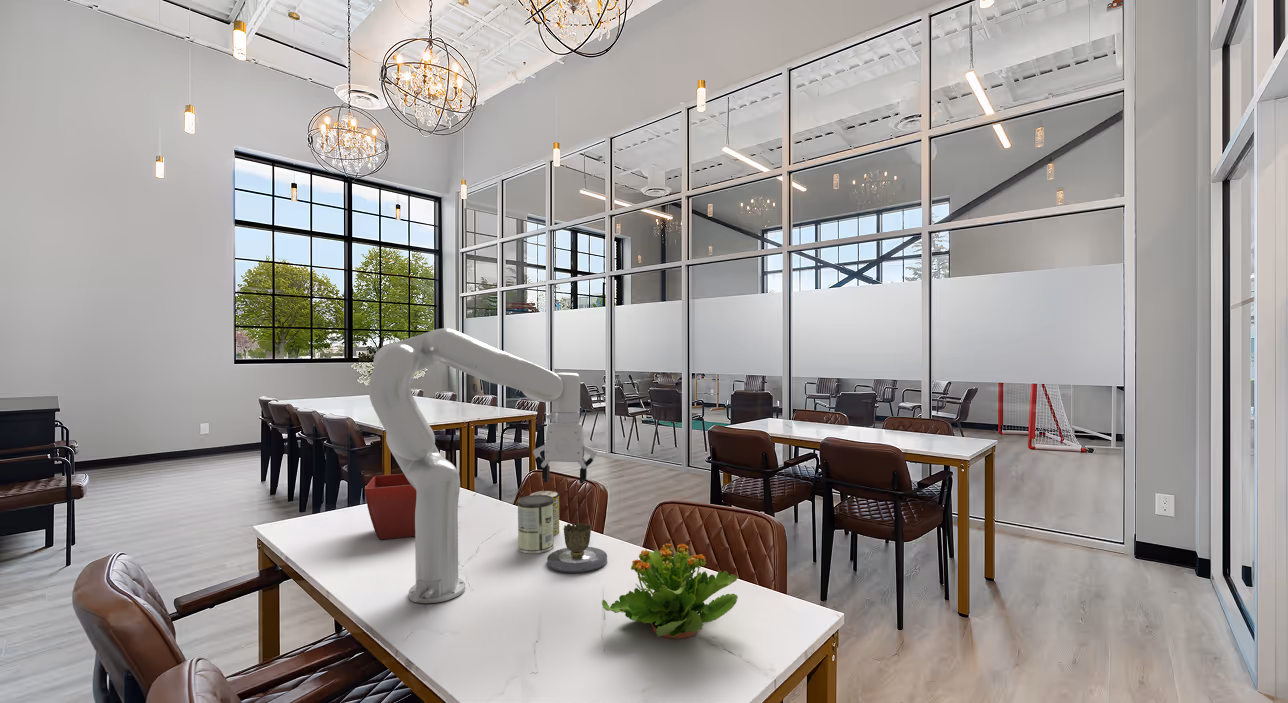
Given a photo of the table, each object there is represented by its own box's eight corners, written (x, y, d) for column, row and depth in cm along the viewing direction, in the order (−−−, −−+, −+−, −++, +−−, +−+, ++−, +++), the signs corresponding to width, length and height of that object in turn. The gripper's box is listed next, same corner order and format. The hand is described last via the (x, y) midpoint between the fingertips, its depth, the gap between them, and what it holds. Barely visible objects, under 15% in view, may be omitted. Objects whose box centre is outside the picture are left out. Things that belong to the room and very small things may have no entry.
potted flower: (669, 591, 133) (669, 517, 133) (760, 621, 118) (759, 538, 118) (595, 633, 113) (594, 546, 113) (692, 675, 98) (691, 575, 98)
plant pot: (374, 526, 185) (373, 475, 185) (436, 520, 191) (435, 470, 191) (364, 545, 167) (363, 488, 167) (432, 538, 172) (432, 483, 172)
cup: (589, 561, 148) (589, 530, 148) (561, 561, 148) (561, 530, 148) (592, 551, 155) (592, 522, 155) (566, 551, 155) (565, 522, 155)
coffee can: (524, 541, 169) (523, 494, 169) (557, 542, 168) (557, 494, 168) (512, 553, 159) (512, 503, 159) (548, 554, 158) (548, 504, 158)
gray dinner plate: (603, 574, 143) (603, 567, 143) (541, 573, 144) (541, 566, 144) (610, 551, 159) (610, 545, 159) (554, 551, 160) (554, 545, 160)
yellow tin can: (525, 535, 174) (524, 497, 174) (538, 527, 183) (538, 490, 183) (551, 538, 171) (551, 499, 171) (564, 529, 180) (563, 492, 180)
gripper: (530, 419, 149) (529, 484, 148) (595, 420, 148) (594, 486, 147) (537, 416, 156) (536, 478, 156) (599, 417, 155) (598, 480, 155)
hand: (564, 482), depth 152 cm, fingers open, 9 cm apart
